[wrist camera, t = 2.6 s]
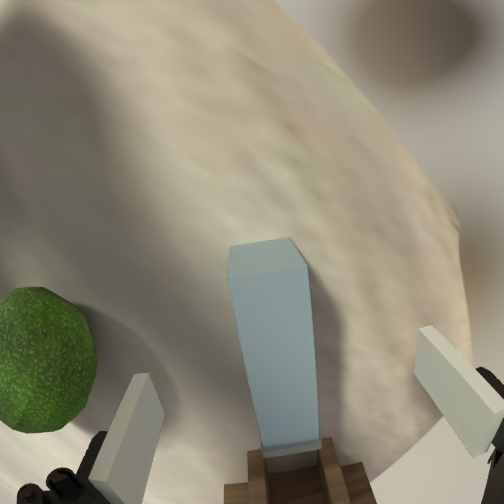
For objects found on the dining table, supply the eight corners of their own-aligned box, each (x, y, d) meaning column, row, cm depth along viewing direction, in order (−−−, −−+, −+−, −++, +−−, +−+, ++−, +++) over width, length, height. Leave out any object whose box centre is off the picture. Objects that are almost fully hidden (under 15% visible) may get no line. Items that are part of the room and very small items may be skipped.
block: (228, 246, 22) (224, 281, 15) (290, 236, 21) (310, 267, 15) (258, 402, 25) (263, 458, 19) (307, 394, 25) (321, 448, 19)
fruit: (71, 413, 26) (35, 482, 16) (-1, 352, 24) (-53, 407, 14) (139, 325, 23) (92, 414, 13) (44, 243, 21) (-41, 291, 11)
